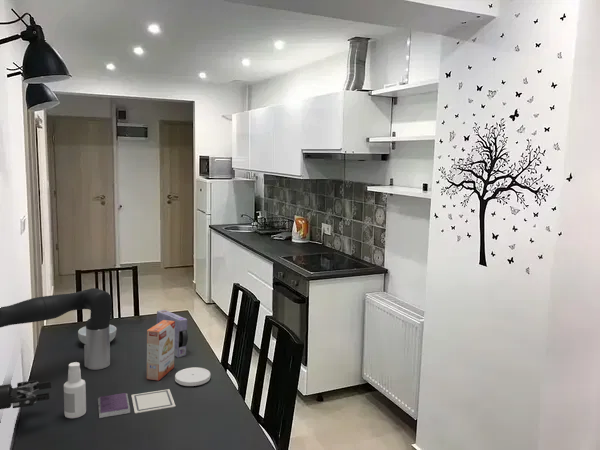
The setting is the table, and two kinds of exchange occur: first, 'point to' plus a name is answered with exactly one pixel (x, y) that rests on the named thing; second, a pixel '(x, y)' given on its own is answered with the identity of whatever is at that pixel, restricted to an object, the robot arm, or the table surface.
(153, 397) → the marked sheet
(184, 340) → the cake pan box
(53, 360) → the table surface
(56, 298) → the robot arm
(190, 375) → the plastic lid
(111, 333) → the cereal bowl
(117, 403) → the ink pad
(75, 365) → the spray bottle
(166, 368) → the cracker box
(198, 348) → the table surface
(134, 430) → the table surface
